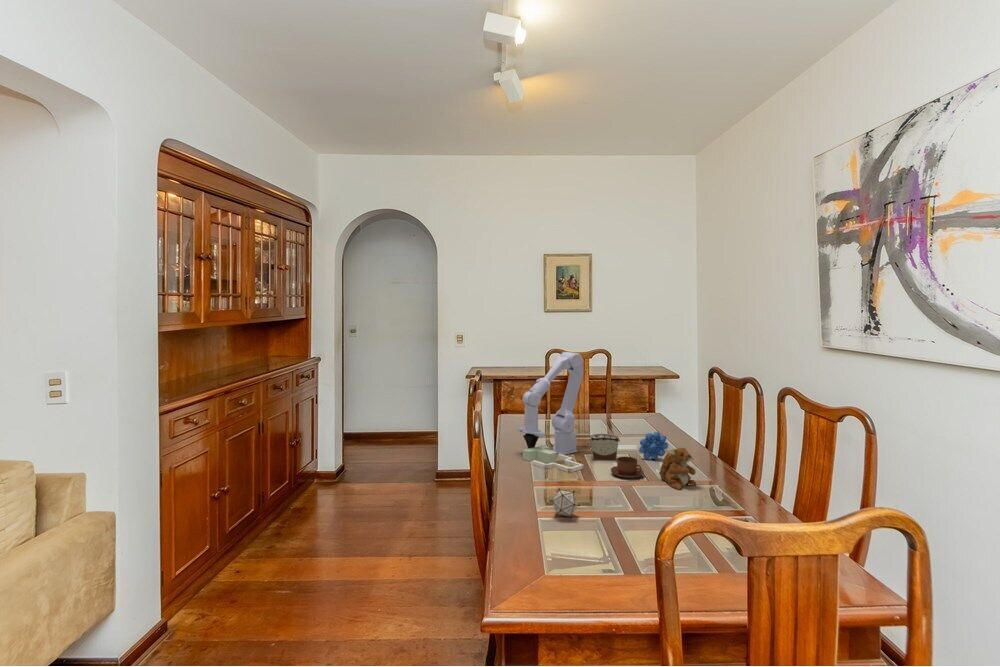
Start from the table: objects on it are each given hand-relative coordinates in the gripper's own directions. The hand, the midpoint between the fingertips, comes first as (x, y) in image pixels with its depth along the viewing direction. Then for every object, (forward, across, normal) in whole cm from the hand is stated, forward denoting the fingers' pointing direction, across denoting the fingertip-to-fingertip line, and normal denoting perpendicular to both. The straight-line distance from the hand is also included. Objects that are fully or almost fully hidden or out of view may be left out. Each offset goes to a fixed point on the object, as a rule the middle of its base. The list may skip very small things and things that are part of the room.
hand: (531, 451), depth 219 cm
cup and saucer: (+2, +42, +11) cm, 43 cm away
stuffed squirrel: (+2, +58, +17) cm, 61 cm away
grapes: (+2, +36, +36) cm, 51 cm away
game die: (+2, +54, -36) cm, 65 cm away
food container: (+2, +22, +21) cm, 31 cm away
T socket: (+2, +18, 0) cm, 18 cm away
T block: (+2, +7, 0) cm, 7 cm away
